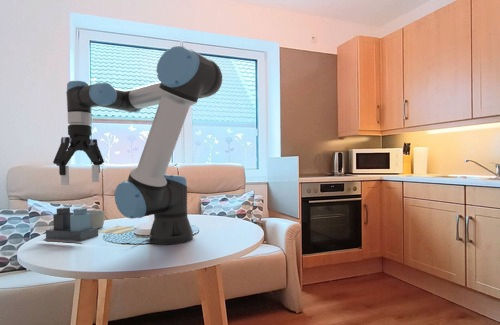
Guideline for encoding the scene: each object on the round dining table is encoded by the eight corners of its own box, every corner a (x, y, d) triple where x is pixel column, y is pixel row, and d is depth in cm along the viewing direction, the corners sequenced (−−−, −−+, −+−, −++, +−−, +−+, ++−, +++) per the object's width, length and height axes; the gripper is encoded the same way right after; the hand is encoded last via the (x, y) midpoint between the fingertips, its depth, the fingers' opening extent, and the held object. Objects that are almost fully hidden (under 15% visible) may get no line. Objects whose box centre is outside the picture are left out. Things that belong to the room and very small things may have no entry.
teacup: (87, 227, 135) (87, 209, 135) (110, 227, 134) (110, 209, 134) (64, 235, 121) (63, 214, 121) (89, 235, 120) (89, 214, 120)
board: (141, 229, 128) (141, 227, 128) (121, 236, 117) (121, 234, 117) (117, 228, 132) (117, 225, 132) (95, 235, 120) (95, 232, 120)
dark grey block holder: (98, 238, 115) (97, 207, 115) (80, 243, 107) (79, 210, 107) (65, 235, 120) (64, 206, 120) (45, 241, 112) (45, 209, 112)
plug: (90, 237, 114) (90, 208, 114) (80, 240, 110) (79, 209, 110) (81, 237, 115) (80, 207, 115) (70, 240, 111) (70, 209, 111)
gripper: (97, 128, 125) (98, 181, 126) (39, 121, 102) (41, 186, 102) (112, 127, 123) (114, 180, 123) (57, 120, 99) (59, 186, 100)
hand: (81, 183), depth 113 cm, fingers open, 13 cm apart
